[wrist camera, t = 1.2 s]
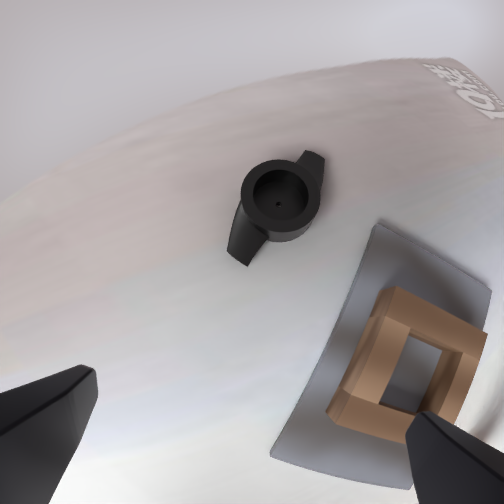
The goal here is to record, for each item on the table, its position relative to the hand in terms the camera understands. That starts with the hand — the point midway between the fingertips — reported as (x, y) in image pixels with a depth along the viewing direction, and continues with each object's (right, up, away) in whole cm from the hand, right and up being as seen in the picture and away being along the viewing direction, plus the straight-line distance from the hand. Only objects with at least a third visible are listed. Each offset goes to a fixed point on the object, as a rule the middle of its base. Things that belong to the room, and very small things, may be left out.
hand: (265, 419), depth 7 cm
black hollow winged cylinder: (+2, +8, +18) cm, 20 cm away
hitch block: (+12, -6, +14) cm, 19 cm away
